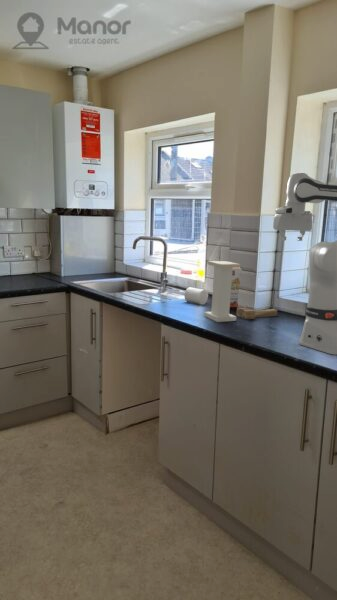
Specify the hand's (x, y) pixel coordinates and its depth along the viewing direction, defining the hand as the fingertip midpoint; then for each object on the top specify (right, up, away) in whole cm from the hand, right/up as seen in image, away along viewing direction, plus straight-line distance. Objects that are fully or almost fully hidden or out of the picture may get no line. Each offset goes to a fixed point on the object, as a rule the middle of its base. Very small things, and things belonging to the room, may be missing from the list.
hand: (291, 240), depth 209 cm
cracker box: (-23, -31, +30) cm, 49 cm away
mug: (-41, -29, +36) cm, 62 cm away
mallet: (-14, -36, +10) cm, 39 cm away
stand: (-33, -36, +1) cm, 49 cm away
